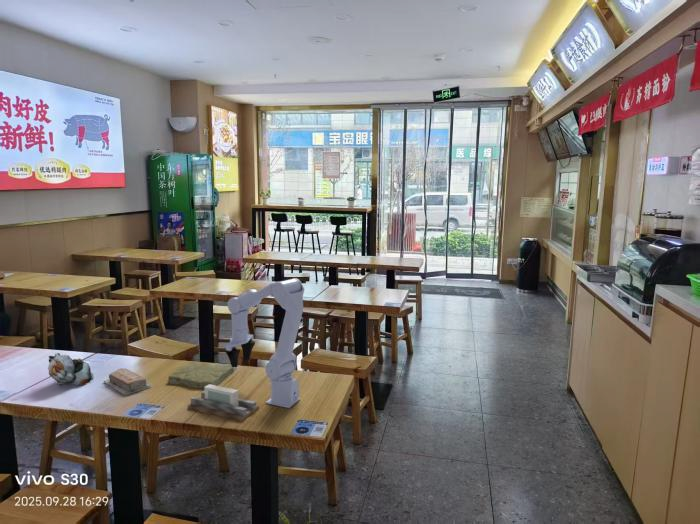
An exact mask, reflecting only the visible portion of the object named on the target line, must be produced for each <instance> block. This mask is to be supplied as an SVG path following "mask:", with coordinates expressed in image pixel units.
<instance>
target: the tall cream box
mask: <svg viewBox="0 0 700 524" xmlns="http://www.w3.org/2000/svg"><path fill="white" fill-rule="evenodd" d="M203 391H205V399H207V400H211V401H216V402H220V403H225V404H229V405H234V406H238V407H239V405H238V398H239V390H238V389H234V388H231V387H230V388H229V387H223V386H220V385H217V386H216V385H211V384H209V385H207V386H205V387H204V388H203Z"/></svg>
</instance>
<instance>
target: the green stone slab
mask: <svg viewBox="0 0 700 524" xmlns="http://www.w3.org/2000/svg"><path fill="white" fill-rule="evenodd" d="M234 368H235V367H232V366H231V365H225V364H217V363H216V364H215V363H214V364H213V363H208V362H207V363H205V362H204V363H203V362H196V361H195V362H194V361H191V362H188V363H187V364H184V365H182V366H181V367H180V368H178V369H176V370H175V371H174V372H171V374H170V375H168V380H167V383H168V385H169V384H170V385H180V386H187V387H189V388H196V389H197V388H199V389H204V387H205V386H207V385H209V384H211V385H216V386H220V384H222V382H223V381H225V380H227V378H229V377H230V376H231V375H232V374H234V372H235V369H234Z"/></svg>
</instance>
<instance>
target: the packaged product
mask: <svg viewBox="0 0 700 524" xmlns="http://www.w3.org/2000/svg"><path fill="white" fill-rule="evenodd" d="M103 383H104V384H105V383H106V385H108V386H109V385H110V386H109V387H111V388H112V387H113V388H112V389H114V388H115V389H116V390H115V389H114V390H115V391H117V390H118V391H117V392H119V393H121V394H123V395H124V394H125V396H130V395H133V394H136V393H138V392H140V391H141V390H142V391H145V390H147V389H151V388H152V384H151V383H149V382H147V380H146V378H145V377H143V376H141V375H139V374H137V373H135V372H133V371H131V370H129V369H127V368H121V367H120V368H119V369H117V370H115V371H113V372H111V373H109V375H108V379H106V380H103Z"/></svg>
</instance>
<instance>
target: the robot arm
mask: <svg viewBox="0 0 700 524" xmlns="http://www.w3.org/2000/svg"><path fill="white" fill-rule="evenodd" d="M304 293H305V287H304V285H303V283H302V282H301V280H300V279H298V278H296V277H293V278H290V279H287V280H281V281H275V282H273V283H269V284H266V285H265V286H264V287H262V288H260V289H258V290H257V289H255V288H254V289H252V288H249V289H246V292H244V293H239V294H238V296H235V297H230V298H229V299H228V301H227V308H228V310H229V312H230V313H231V316H230V317H231V337H230V339H229V342H228V343H227V344H226V345H225V347H224V352H225V354H226V355H227V358H228V359H229V362H230V366H232V367H234V368H238V364H239V356H240V353H241V350H242V358H243V361H246V362H247V361H249V362H250V359H251V356H252V355H251V354H252V351H253V348H254V346H255V345H256V342H255V341H254V334H250V333H248V332H249V331H248V328H249V327H248V325H249V324H248V315H249V310H250V309H251V308H253V307H256V306H258V305H259V304H261V302H262V299H265V298H268V297H273V298H274V300H275V301H276V302H277V303H278V304H279V306H280V307H281V308H282V309H284V310H285V314H284V318H283V321H282V325H281V331H280V334H279V338H278V343H277V346H276V351H275V352H274V353H272V355H271V357H270V358H269V361H268V362H267V364H266V365H265V373H266V375H267V377H268V378H269V380H270V398H269V399H268V400H267V401H265V404H268V405H274V406H277V407H282V408H286V409H290V408H291V407H292V406H294V405H295V404H296V403H297V402H298V401H300V400H301V398H300V382H299V381H298V379H296V378H294V377H293V374H294V372H295V370H296V369H297V364H296V359H297V355H296V354H295V353H294V352H293V351H294V348H295V343H296V339H297V337H298V333H299V329H300V324H301V322H302V321H301V320H302V315H303V312H304V299H303V297H304ZM239 346H241V350H240V349H237V348H238V347H239Z"/></svg>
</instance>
